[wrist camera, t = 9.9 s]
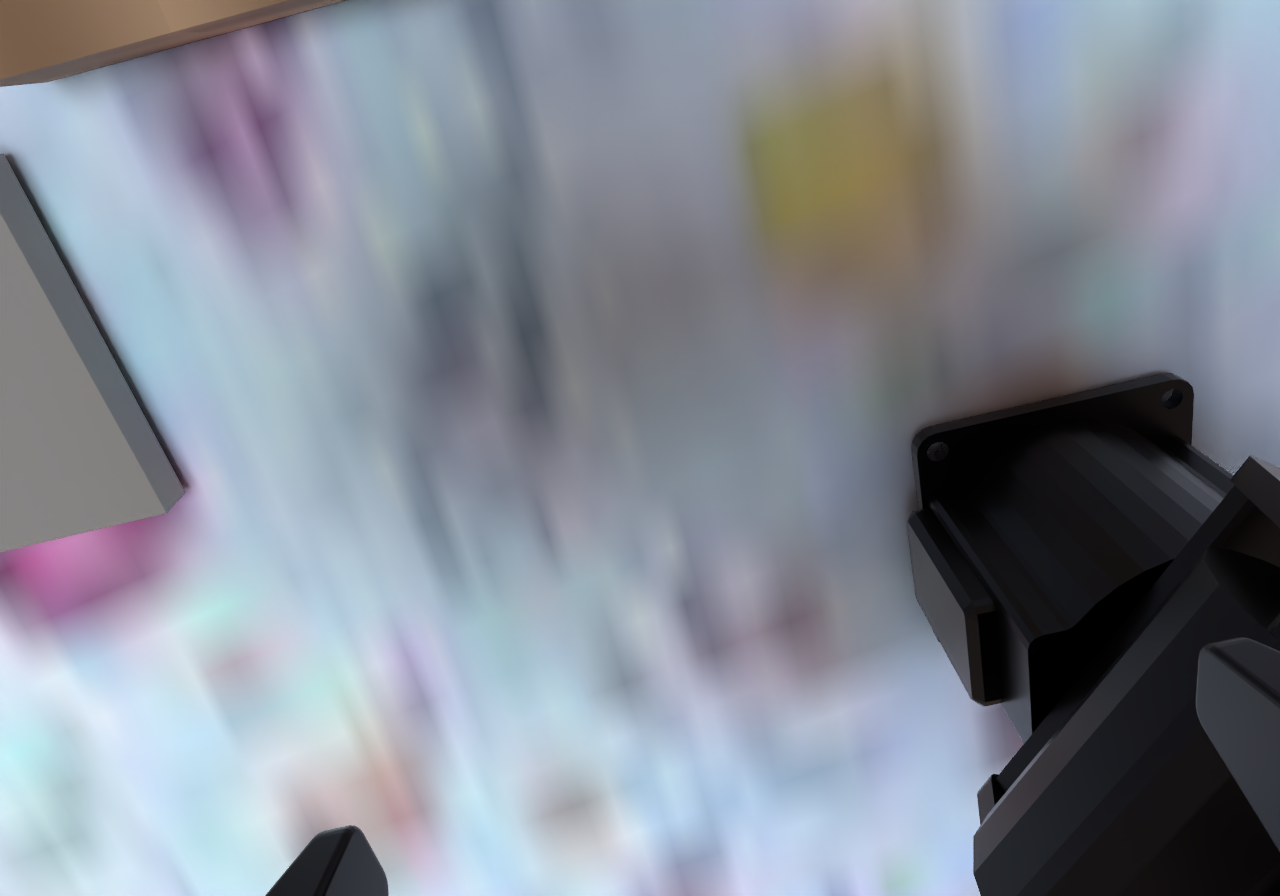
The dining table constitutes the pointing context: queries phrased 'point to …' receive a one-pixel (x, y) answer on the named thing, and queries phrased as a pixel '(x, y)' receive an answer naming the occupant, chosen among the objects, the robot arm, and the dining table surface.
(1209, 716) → the robot arm
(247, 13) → the rack plate
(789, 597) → the dining table surface
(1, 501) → the grey square plate
